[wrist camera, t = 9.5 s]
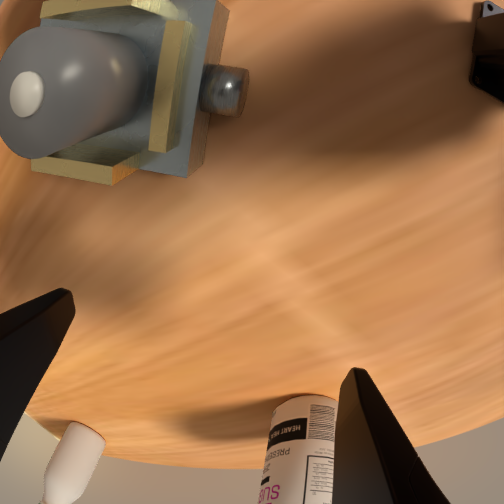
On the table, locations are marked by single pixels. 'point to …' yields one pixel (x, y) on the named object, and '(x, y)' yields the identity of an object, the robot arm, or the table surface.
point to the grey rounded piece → (67, 88)
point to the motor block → (154, 87)
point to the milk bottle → (72, 464)
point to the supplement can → (300, 452)
